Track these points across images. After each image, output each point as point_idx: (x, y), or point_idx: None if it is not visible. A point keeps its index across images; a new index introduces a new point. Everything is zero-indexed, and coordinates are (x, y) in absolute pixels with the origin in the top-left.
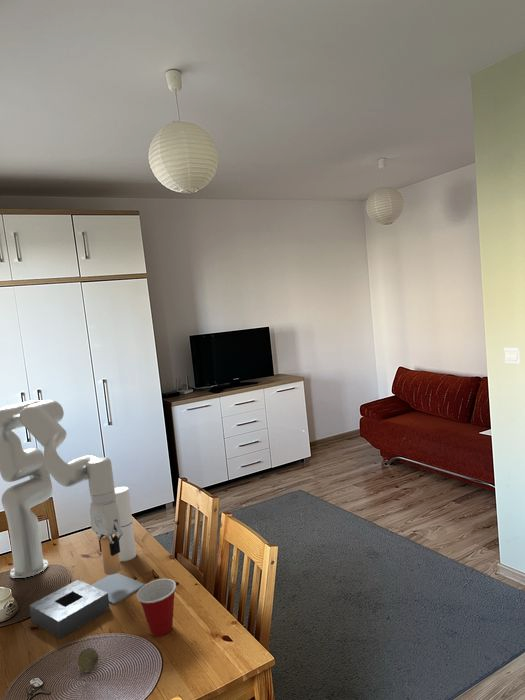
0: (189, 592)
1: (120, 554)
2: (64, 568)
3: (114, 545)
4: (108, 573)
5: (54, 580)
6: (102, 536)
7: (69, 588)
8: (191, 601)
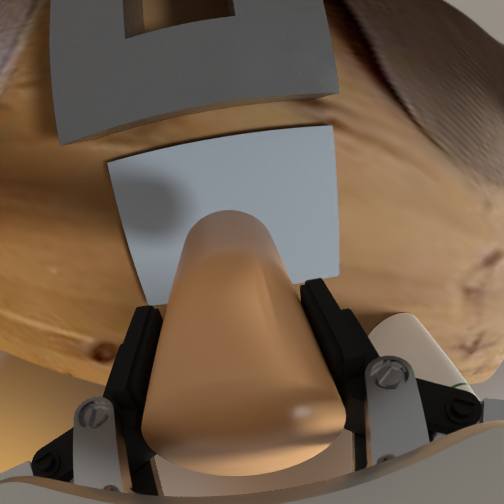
0: (41, 347)
1: (395, 334)
2: (498, 181)
3: (106, 392)
4: (202, 221)
5: (473, 117)
6: (357, 412)
7: (283, 19)
8: (7, 326)
